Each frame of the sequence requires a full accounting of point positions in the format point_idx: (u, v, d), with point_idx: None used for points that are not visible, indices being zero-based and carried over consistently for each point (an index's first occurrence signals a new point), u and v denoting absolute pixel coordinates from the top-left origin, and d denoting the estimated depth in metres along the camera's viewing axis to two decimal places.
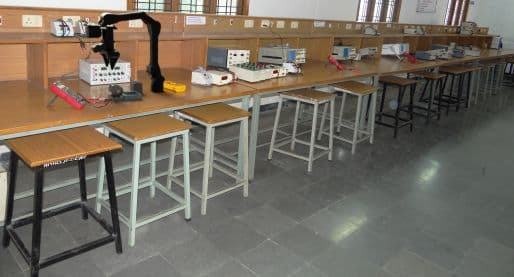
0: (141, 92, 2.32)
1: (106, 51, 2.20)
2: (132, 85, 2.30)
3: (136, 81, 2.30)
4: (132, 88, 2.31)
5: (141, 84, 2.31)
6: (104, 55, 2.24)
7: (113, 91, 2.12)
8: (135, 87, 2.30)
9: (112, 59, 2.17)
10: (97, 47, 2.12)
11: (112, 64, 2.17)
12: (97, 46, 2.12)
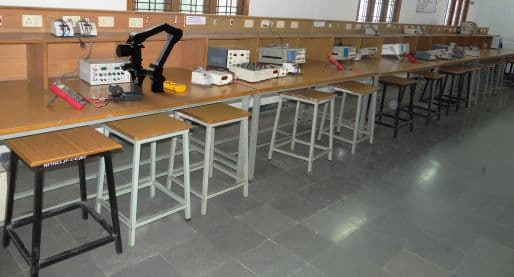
0: (141, 92, 2.32)
1: None
2: (132, 85, 2.30)
3: (136, 81, 2.30)
4: (132, 88, 2.31)
5: None
6: (131, 72, 2.34)
7: (113, 91, 2.12)
8: (135, 87, 2.30)
9: (140, 76, 2.26)
10: (126, 65, 2.21)
11: (140, 81, 2.27)
12: (126, 64, 2.21)
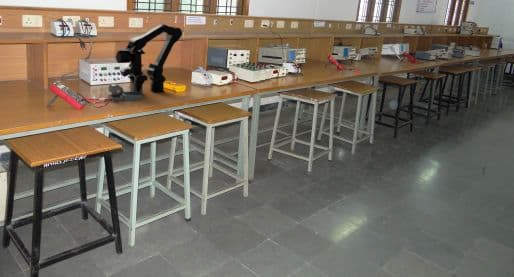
0: (141, 92, 2.32)
1: (135, 75, 2.29)
2: (132, 85, 2.30)
3: None
4: (132, 88, 2.31)
5: None
6: (132, 78, 2.33)
7: (113, 91, 2.12)
8: (135, 87, 2.30)
9: (139, 81, 2.28)
10: (126, 71, 2.22)
11: (138, 86, 2.29)
12: (126, 70, 2.22)
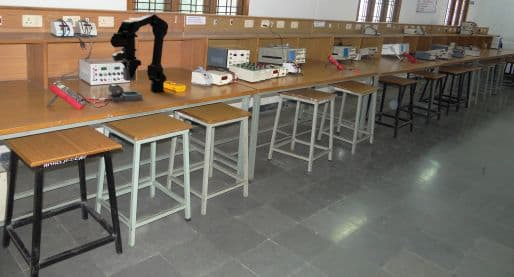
0: (134, 78, 2.18)
1: None
2: (125, 71, 2.16)
3: None
4: (125, 74, 2.16)
5: None
6: (125, 64, 2.19)
7: (113, 91, 2.12)
8: (128, 73, 2.15)
9: (132, 67, 2.14)
10: (118, 55, 2.08)
11: (132, 72, 2.15)
12: (118, 54, 2.08)
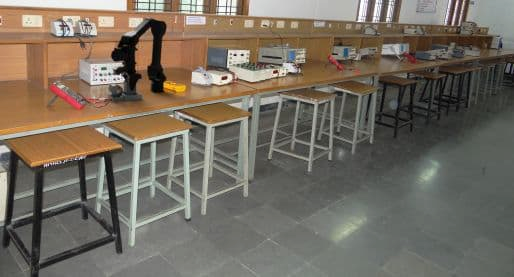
0: (135, 91, 2.20)
1: None
2: (125, 84, 2.18)
3: None
4: (125, 87, 2.18)
5: None
6: (126, 77, 2.21)
7: (113, 91, 2.12)
8: (128, 86, 2.17)
9: (132, 80, 2.16)
10: (119, 69, 2.10)
11: (132, 85, 2.17)
12: (119, 68, 2.10)
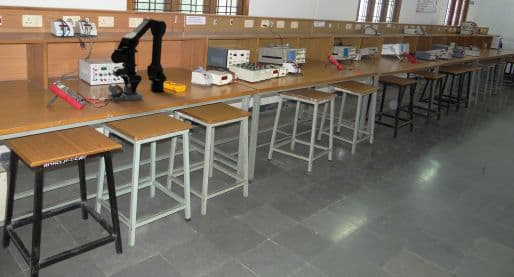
0: None
1: (127, 74, 2.18)
2: (125, 90, 2.19)
3: (129, 85, 2.19)
4: (125, 93, 2.19)
5: None
6: (125, 78, 2.22)
7: (113, 91, 2.12)
8: (128, 92, 2.18)
9: (133, 83, 2.15)
10: (119, 71, 2.10)
11: (133, 88, 2.16)
12: (119, 70, 2.10)
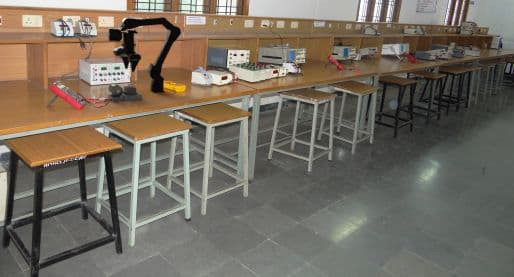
0: None
1: (127, 54, 2.29)
2: (125, 90, 2.19)
3: (129, 85, 2.19)
4: (125, 93, 2.19)
5: (135, 88, 2.19)
6: (124, 58, 2.33)
7: (113, 91, 2.12)
8: (128, 92, 2.18)
9: (133, 62, 2.26)
10: (119, 50, 2.21)
11: (133, 66, 2.27)
12: (119, 49, 2.21)
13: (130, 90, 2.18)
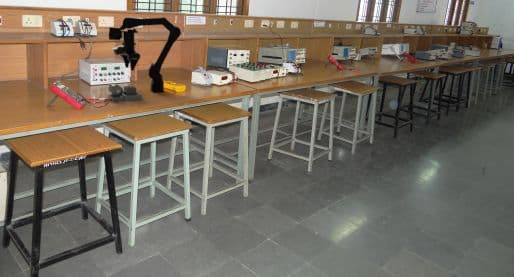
0: None
1: (127, 53, 2.32)
2: (125, 90, 2.19)
3: (129, 85, 2.19)
4: (125, 93, 2.19)
5: (135, 88, 2.19)
6: (124, 57, 2.37)
7: (113, 91, 2.12)
8: (128, 92, 2.18)
9: (133, 60, 2.29)
10: (119, 49, 2.25)
11: (132, 65, 2.30)
12: (119, 48, 2.25)
13: (130, 90, 2.18)
